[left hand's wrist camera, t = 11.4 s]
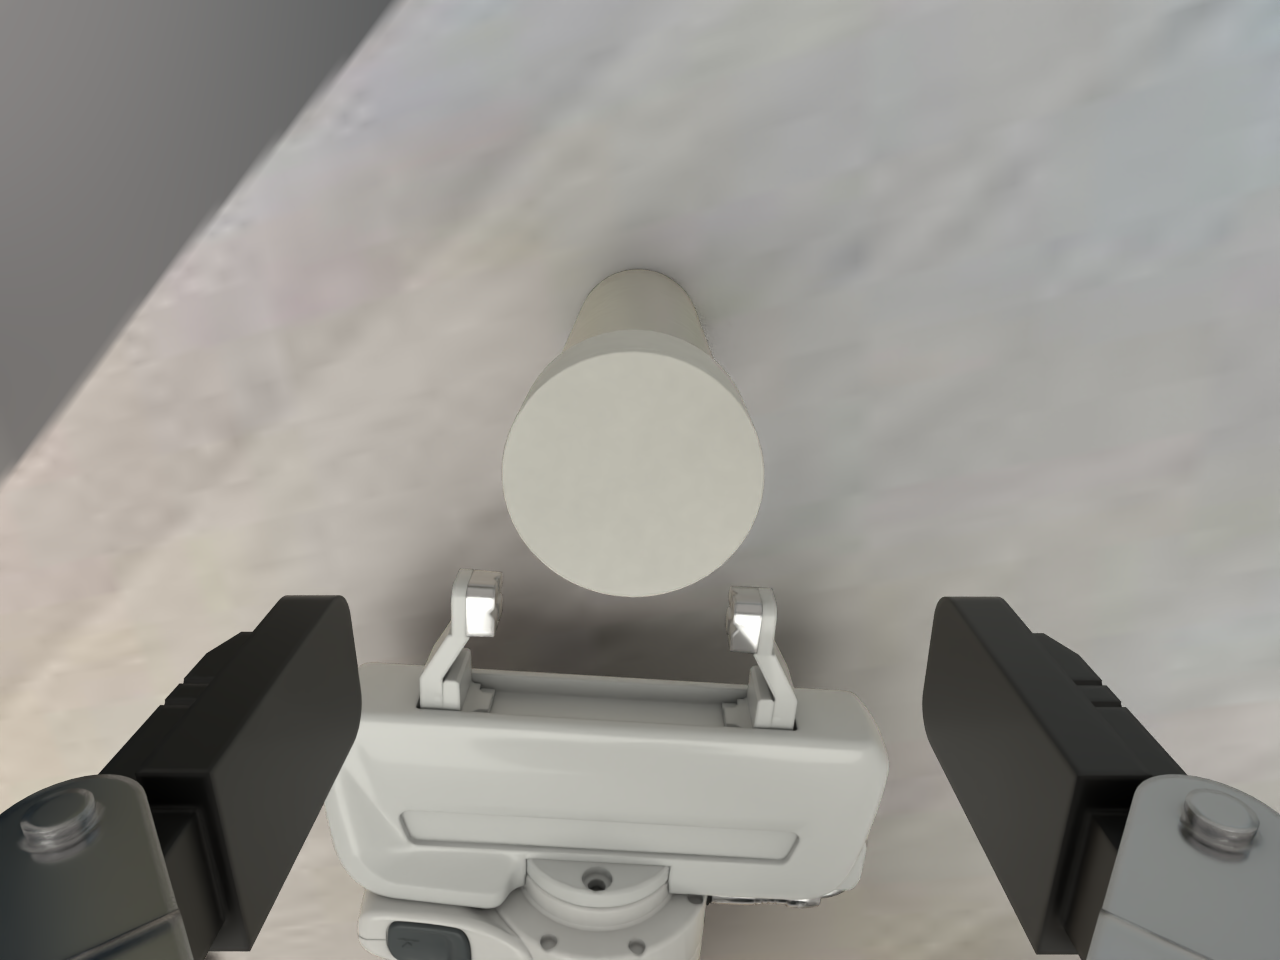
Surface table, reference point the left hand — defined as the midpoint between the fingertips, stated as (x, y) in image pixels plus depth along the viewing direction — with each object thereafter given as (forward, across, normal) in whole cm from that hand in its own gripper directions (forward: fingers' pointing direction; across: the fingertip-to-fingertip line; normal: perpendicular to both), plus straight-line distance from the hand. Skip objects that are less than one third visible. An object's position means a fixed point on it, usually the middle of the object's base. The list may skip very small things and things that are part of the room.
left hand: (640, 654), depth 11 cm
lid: (+6, 0, 0) cm, 6 cm away
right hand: (+15, +1, +7) cm, 17 cm away
